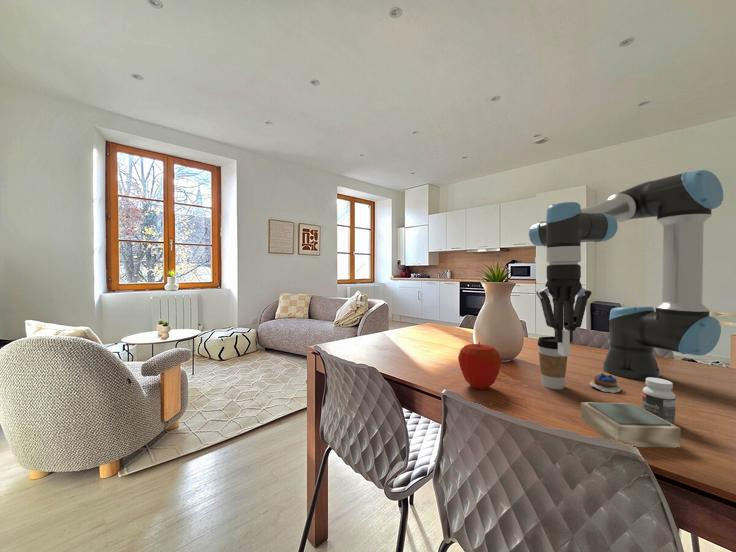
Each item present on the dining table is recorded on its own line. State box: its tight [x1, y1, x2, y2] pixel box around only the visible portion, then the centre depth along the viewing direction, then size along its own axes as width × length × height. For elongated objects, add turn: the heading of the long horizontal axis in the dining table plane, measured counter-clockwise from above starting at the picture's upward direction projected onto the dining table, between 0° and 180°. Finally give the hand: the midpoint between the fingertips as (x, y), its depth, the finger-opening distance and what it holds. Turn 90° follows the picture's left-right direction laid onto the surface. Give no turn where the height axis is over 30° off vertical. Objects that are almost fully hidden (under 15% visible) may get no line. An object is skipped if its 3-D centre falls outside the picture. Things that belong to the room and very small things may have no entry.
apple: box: [457, 341, 502, 391], centre depth 96 cm, size 12×12×14 cm
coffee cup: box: [537, 336, 569, 390], centre depth 97 cm, size 8×8×15 cm
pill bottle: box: [641, 377, 676, 426], centre depth 73 cm, size 6×6×10 cm
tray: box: [580, 401, 682, 449], centre depth 69 cm, size 12×12×4 cm
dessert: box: [589, 372, 622, 394], centre depth 94 cm, size 8×7×6 cm
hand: (563, 354), depth 81 cm, fingers closed
